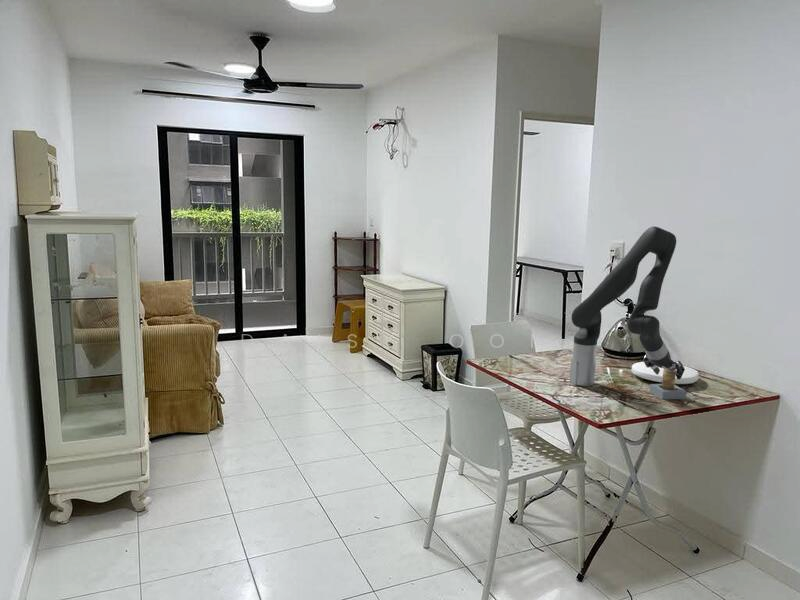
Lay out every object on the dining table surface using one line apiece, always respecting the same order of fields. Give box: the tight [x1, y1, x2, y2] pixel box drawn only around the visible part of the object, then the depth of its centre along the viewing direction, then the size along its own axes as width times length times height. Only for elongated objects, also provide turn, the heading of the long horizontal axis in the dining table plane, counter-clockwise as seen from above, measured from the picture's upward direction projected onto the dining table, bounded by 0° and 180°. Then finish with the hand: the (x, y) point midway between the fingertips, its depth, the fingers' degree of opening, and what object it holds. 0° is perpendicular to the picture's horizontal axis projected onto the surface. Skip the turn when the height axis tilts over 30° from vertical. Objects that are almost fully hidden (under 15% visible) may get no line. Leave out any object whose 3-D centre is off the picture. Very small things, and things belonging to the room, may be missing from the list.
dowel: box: [661, 366, 676, 390], centre depth 227 cm, size 4×4×13 cm
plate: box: [631, 361, 700, 385], centre depth 250 cm, size 28×6×27 cm
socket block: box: [649, 383, 687, 400], centre depth 228 cm, size 10×10×3 cm
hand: (668, 375), depth 226 cm, fingers open, 8 cm apart
